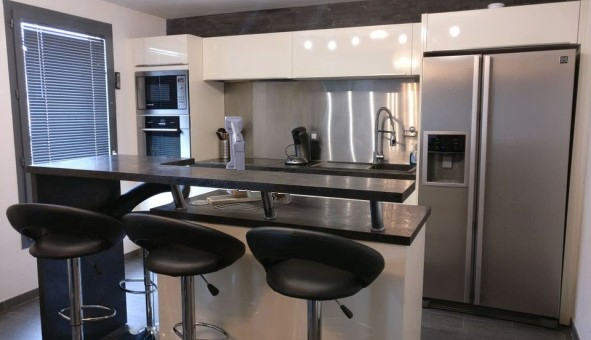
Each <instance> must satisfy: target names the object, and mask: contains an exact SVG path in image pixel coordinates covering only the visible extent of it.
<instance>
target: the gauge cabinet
mask: <svg viewBox="0 0 591 340" xmlns="http://www.w3.org/2000/svg"><path fill="white" fill-rule="evenodd" d="M246 191H247V190H246ZM247 194H248V196H249V197H251V198H254V197H261V194H260V192H251V191H247Z"/></svg>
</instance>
